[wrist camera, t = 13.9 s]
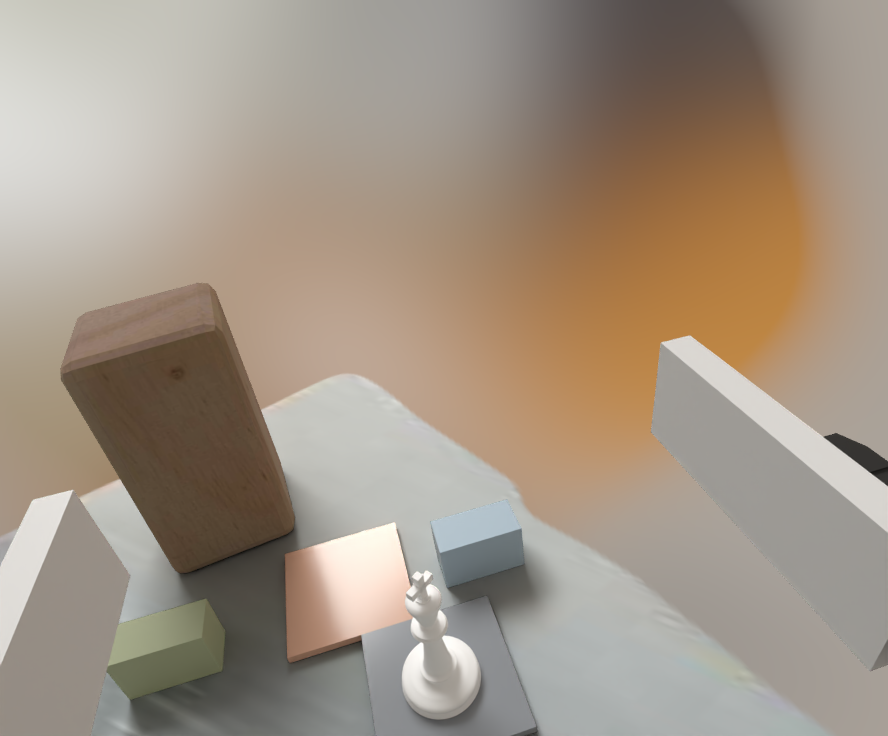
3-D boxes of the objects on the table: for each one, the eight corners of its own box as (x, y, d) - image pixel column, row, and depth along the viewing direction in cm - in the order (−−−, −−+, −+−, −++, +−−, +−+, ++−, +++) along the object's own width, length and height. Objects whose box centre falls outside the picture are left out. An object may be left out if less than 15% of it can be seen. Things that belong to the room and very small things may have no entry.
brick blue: (447, 588, 42) (440, 552, 39) (437, 557, 44) (430, 521, 42) (524, 565, 42) (521, 528, 40) (510, 535, 45) (506, 499, 43)
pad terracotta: (289, 663, 38) (287, 658, 38) (286, 558, 46) (284, 553, 45) (419, 622, 39) (418, 616, 39) (396, 527, 47) (394, 522, 47)
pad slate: (384, 786, 31) (382, 781, 31) (362, 639, 39) (361, 634, 39) (536, 731, 33) (536, 726, 32) (487, 600, 40) (487, 595, 40)
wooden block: (300, 534, 48) (219, 325, 37) (176, 583, 45) (50, 373, 34) (281, 463, 56) (210, 275, 45) (175, 501, 53) (73, 311, 42)
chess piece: (496, 667, 35) (482, 564, 30) (448, 738, 32) (422, 637, 27) (435, 626, 38) (413, 525, 33) (386, 687, 35) (351, 587, 30)
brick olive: (130, 701, 38) (103, 667, 35) (139, 658, 40) (114, 625, 38) (223, 671, 38) (201, 637, 36) (226, 632, 41) (206, 598, 39)
